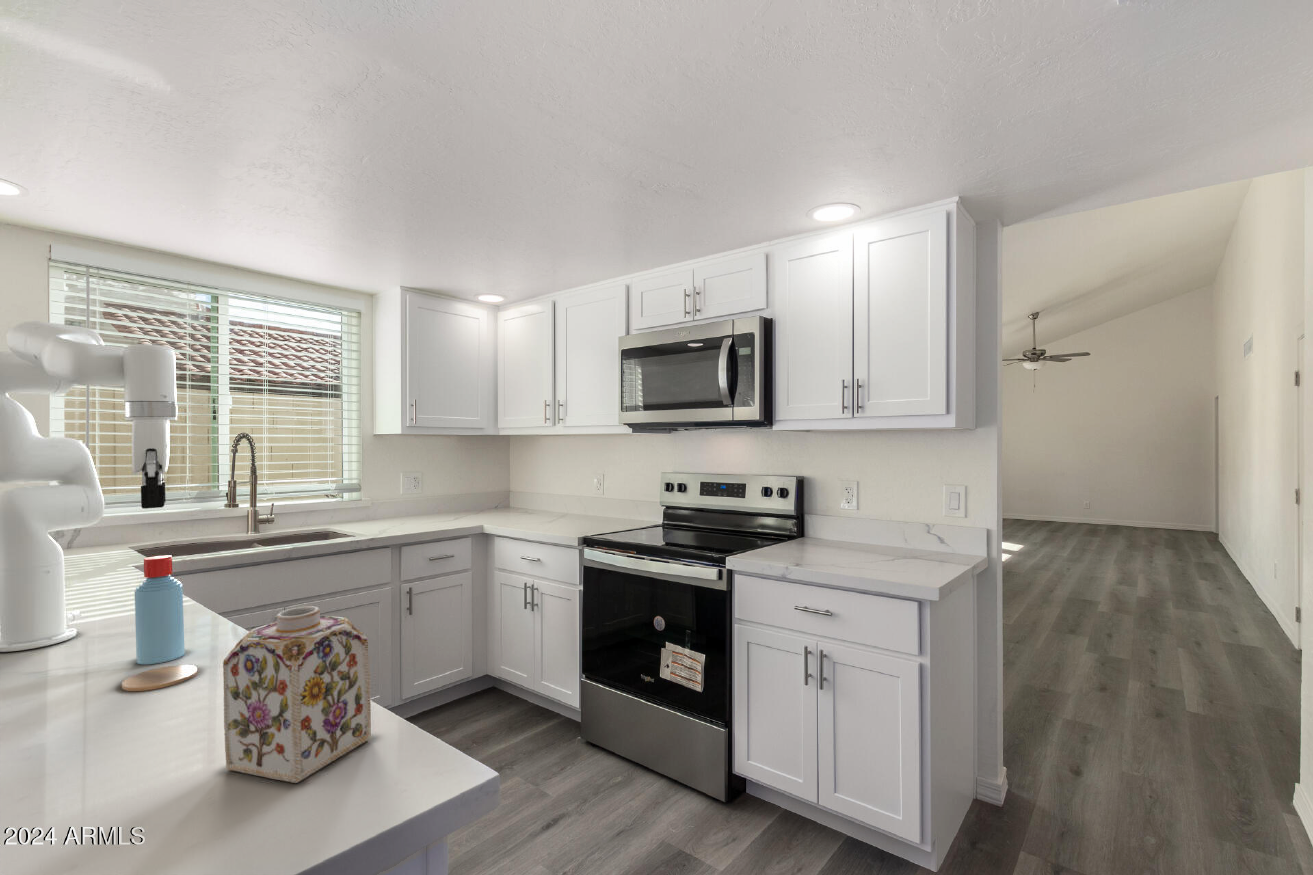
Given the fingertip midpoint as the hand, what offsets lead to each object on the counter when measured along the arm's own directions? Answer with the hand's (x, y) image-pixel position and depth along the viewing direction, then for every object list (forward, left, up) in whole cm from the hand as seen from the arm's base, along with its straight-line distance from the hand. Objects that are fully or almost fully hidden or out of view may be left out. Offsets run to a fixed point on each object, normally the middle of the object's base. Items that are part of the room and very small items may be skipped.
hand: (154, 505), depth 117 cm
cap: (-1, 0, -13) cm, 13 cm away
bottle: (0, 0, -28) cm, 28 cm away
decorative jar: (+44, +42, -28) cm, 67 cm away
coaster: (+12, +7, -28) cm, 31 cm away
